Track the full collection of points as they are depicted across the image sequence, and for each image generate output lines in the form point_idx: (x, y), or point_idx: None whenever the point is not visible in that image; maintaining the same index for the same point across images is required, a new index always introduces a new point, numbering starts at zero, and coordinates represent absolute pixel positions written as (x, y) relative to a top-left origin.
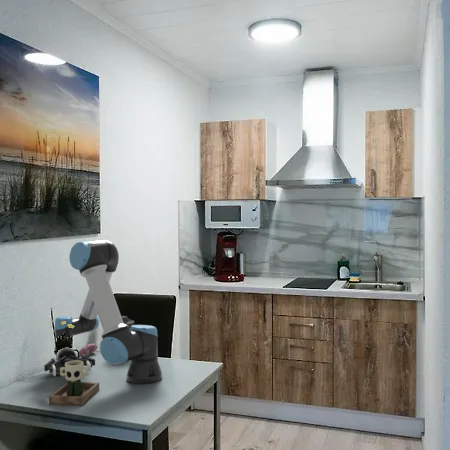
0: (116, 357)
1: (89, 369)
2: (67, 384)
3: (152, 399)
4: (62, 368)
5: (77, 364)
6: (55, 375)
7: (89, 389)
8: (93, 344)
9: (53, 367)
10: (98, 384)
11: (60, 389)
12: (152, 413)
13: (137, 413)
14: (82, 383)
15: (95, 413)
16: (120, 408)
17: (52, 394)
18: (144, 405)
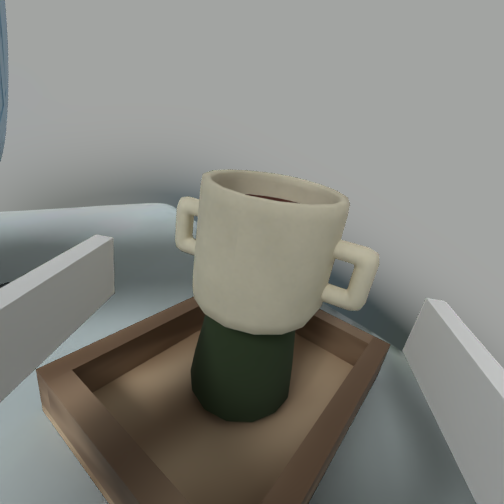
0: (6, 110)
1: (109, 276)
2: (293, 344)
3: (27, 236)
4: (359, 248)
5: (263, 172)
6: (406, 348)
7: (174, 314)
8: None
9: (478, 343)
10: (54, 367)
11: (332, 401)
12: (119, 210)
13: (143, 220)
14: (134, 442)
15: None
16: (153, 244)
17: (374, 356)
18: (89, 229)
